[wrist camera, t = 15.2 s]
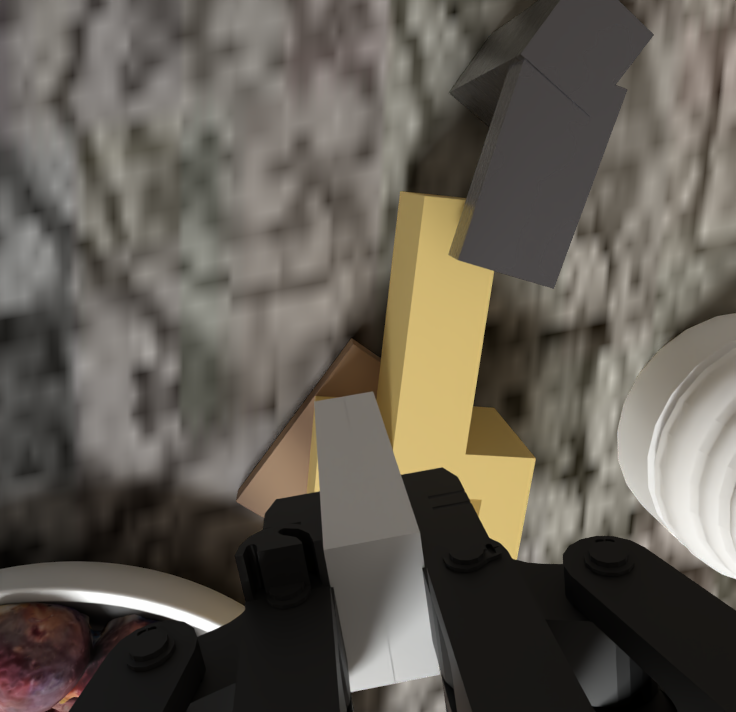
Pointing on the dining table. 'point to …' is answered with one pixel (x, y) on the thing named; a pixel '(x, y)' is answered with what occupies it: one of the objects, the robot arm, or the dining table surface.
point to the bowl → (85, 623)
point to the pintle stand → (306, 431)
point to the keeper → (542, 130)
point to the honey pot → (687, 440)
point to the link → (444, 372)
